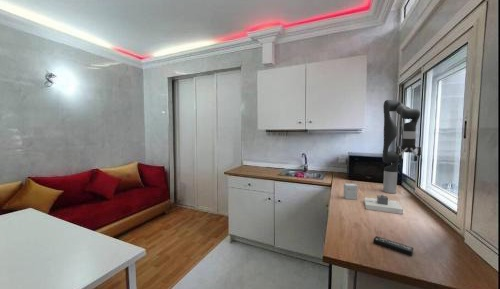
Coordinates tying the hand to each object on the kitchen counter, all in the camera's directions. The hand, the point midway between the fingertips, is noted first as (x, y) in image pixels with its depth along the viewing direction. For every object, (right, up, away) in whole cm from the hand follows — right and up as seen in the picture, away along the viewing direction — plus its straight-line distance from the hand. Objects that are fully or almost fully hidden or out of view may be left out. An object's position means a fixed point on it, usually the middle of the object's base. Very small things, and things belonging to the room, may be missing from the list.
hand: (407, 161), depth 152 cm
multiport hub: (-47, -35, -55) cm, 80 cm away
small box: (-35, -29, +12) cm, 47 cm away
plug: (-22, -30, -7) cm, 38 cm away
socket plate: (-22, -30, -7) cm, 38 cm away
